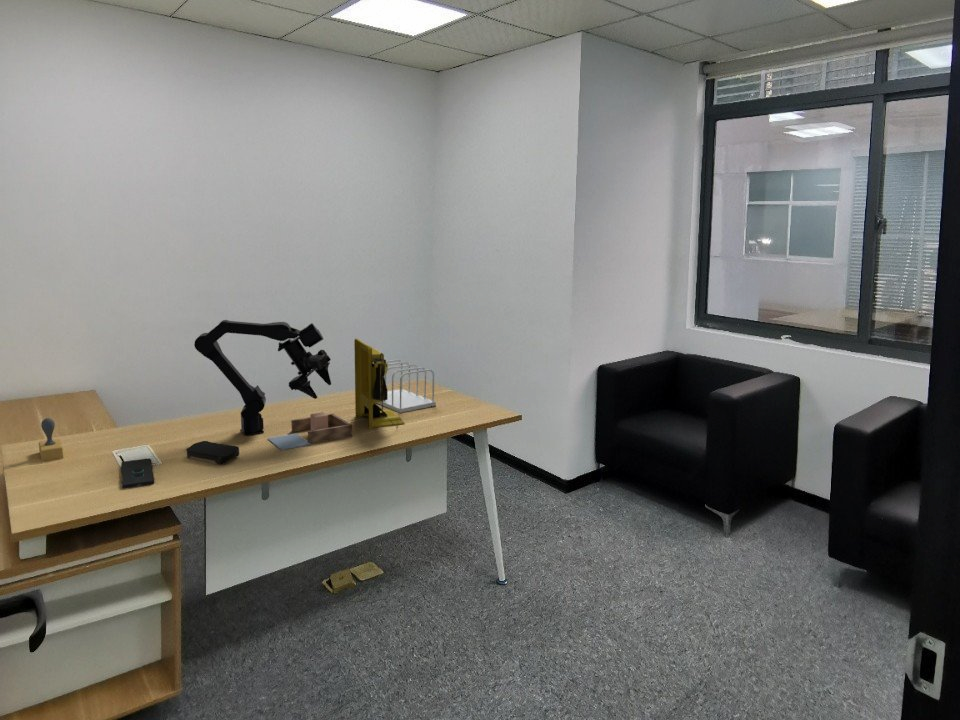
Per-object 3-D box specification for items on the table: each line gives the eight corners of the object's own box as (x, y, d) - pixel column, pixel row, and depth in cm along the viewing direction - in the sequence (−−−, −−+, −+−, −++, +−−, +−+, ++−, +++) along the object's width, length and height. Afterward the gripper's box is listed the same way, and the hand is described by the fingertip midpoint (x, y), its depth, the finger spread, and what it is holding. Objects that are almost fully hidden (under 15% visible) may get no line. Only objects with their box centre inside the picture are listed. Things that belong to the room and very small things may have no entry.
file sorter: (366, 399, 287) (366, 362, 283) (402, 393, 297) (402, 357, 294) (399, 413, 268) (399, 374, 264) (436, 406, 279) (436, 368, 275)
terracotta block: (316, 436, 237) (315, 417, 236) (310, 433, 241) (310, 414, 239) (328, 434, 240) (327, 415, 238) (323, 431, 243) (322, 412, 242)
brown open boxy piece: (309, 443, 230) (308, 432, 229) (291, 431, 243) (291, 420, 242) (352, 436, 239) (351, 424, 238) (333, 424, 252) (332, 413, 251)
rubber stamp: (39, 452, 216) (35, 415, 214) (61, 449, 220) (57, 413, 217) (41, 462, 208) (37, 423, 206) (63, 458, 212) (59, 420, 209)
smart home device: (121, 484, 190) (120, 461, 207) (122, 490, 190) (121, 466, 207) (154, 480, 193) (151, 457, 211) (155, 485, 194) (151, 462, 211)
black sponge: (243, 458, 216) (242, 447, 215) (223, 467, 208) (222, 455, 208) (202, 450, 222) (202, 439, 221) (182, 459, 214) (181, 447, 214)
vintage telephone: (413, 431, 245) (413, 348, 239) (375, 436, 239) (374, 351, 233) (386, 408, 273) (386, 333, 267) (351, 412, 267) (350, 335, 261)
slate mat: (281, 450, 223) (281, 449, 223) (267, 439, 233) (267, 438, 233) (310, 444, 229) (310, 443, 229) (296, 434, 239) (296, 433, 239)
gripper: (298, 360, 227) (325, 399, 231) (328, 335, 242) (352, 371, 246) (276, 370, 232) (302, 408, 237) (307, 344, 247) (331, 380, 252)
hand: (323, 391), depth 243 cm, fingers open, 9 cm apart
